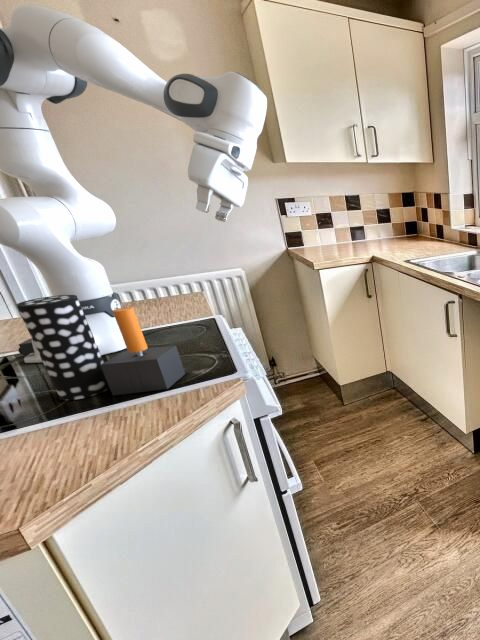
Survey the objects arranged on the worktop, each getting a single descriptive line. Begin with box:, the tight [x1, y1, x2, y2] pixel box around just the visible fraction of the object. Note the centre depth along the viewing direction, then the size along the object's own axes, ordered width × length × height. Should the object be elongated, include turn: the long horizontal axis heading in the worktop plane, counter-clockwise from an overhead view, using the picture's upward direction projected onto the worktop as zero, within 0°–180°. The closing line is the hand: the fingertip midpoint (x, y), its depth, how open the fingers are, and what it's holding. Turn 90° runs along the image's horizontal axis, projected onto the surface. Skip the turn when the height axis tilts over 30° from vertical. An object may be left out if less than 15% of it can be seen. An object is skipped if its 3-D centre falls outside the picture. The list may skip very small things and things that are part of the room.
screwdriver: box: [113, 306, 149, 356], centre depth 89 cm, size 3×3×17 cm
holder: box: [100, 345, 186, 396], centre depth 91 cm, size 10×8×7 cm
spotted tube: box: [15, 295, 110, 401], centre depth 86 cm, size 8×8×20 cm
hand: (211, 216), depth 89 cm, fingers open, 8 cm apart
